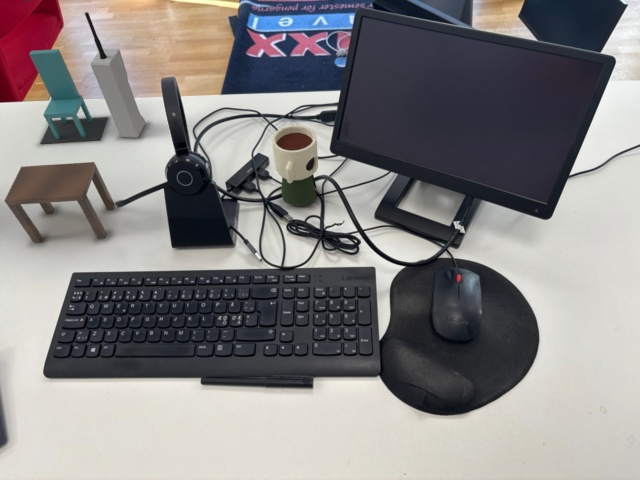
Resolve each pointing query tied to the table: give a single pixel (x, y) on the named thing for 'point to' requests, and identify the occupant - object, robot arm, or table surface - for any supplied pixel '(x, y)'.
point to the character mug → (296, 163)
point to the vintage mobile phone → (116, 89)
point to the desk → (57, 192)
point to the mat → (75, 131)
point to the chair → (59, 90)
